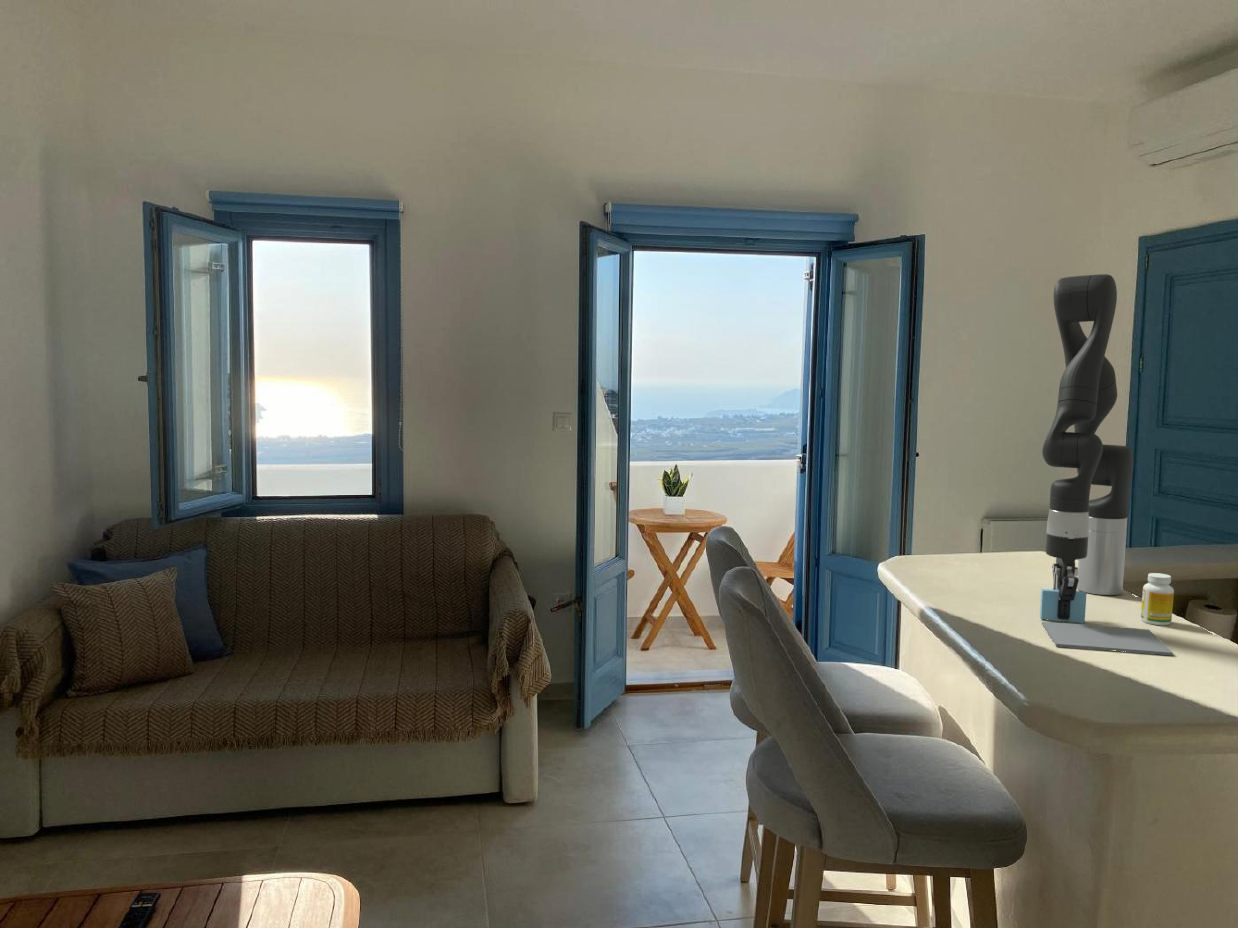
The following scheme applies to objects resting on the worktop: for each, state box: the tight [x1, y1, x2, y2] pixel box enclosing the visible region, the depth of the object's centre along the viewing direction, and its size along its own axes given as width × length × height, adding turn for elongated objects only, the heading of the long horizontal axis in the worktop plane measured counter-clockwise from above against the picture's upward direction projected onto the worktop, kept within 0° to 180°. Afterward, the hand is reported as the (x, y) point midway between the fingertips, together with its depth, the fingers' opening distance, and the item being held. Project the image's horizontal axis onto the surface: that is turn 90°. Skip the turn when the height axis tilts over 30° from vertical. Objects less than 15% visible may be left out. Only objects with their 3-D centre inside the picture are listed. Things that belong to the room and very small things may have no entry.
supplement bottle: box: [1140, 572, 1175, 626], centre depth 188 cm, size 5×5×10 cm
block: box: [1039, 588, 1087, 624], centre depth 188 cm, size 2×8×6 cm, turn 75°
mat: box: [1041, 621, 1174, 656], centre depth 176 cm, size 15×19×1 cm
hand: (1062, 617), depth 189 cm, fingers closed on block, 1 cm apart
